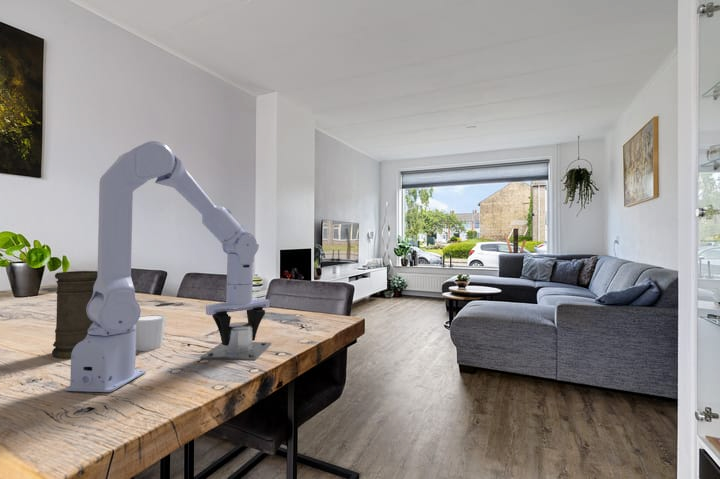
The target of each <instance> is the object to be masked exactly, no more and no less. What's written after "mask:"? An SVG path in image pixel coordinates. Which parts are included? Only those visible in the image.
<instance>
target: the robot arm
mask: <svg viewBox="0 0 720 479" xmlns="http://www.w3.org/2000/svg"><path fill="white" fill-rule="evenodd" d="M153 179H156V180H155V181H154V183H155V184H157V185H162V186H166V187H169V188H173V189H174V190H176V192H178V193H179V194H180V195H181V196H182V197H183V198H184V199H185V200H186V201H187V202H188V203H190V205H192V207H193V208H195V210H197V212H199V213H200V214H201V219H202V225H204V226H205V228H206V229H208V230H209V232H210V233H211V234H212V235H213V236H214V237H215V238H216V239H217V240H218V241H219V242H220V243H221V247H222V250H223V252H224V253H225V254H227V263H226V264H227V265H226V300H225V301H226V302H219V303H213V304H206V305H205V314H206V315H208V316H212V319H213V321H214V323H215V324H216V326H217V330H218V332H219V335H220V339H221V343H222V344H223V345H225V346H227V345H228V344H229V326H230V324H231V320H232V316H230V315H229V313H234V312H241V311H242V312H243V311H246V314H247V315H246V316H247V323H251V324H252V327H253V329H252V342H255V340H256V337H257V332H258V329H259V327H260V324H261V322H262V320H263V318H264V316H265V314H266V309H270V301H271V300H270V299H266V298H265V299H264V298H263V299H262V298H261V299H253V287H254V286H253V284H254V283H253V282H254V280H253V278H254V261H255V255H256V254H257V252H258V250H259V247H260V245H259V244H258V243H257V240H256V239H257V238H256V236H254V234H252V233H250V232H248V231H247V232H246V231H245V228H246V227H244V225H241V224H240V223H239V222H238V221H237V220H236V219H235V218H234V217H233V215H232V213H233V212H232V210H230V208H225V206H221V205H216V204H215V203H214V202H213V201H212V200H211V198H210V197H209V196H208V195H207V193H206V192H205V191H204V190H203V188H202V187H201V186H200V185H199V183H197V181H196V180H195V179H194V178H193V176H192V175H191V174H190V173H189V171H188V170H187V169H186V166H185V165H184V163H183V161H182V159H180V157H179V156H177V155H175V154H174V152H173V151H172V150H171V148H170V147H169V146H167V144H165V143H163V142H161V141H156V140H151V141H147V142H144V143H142V144H140V145H138V146H136V147H134V148H132V149H131V150H129V151H127V152H124V153H122V154H121V155H119V156H118V158H117V159H116V160H115V161H114V162H113V164H112V165H111V166H110V167H109V168H108V169H107V170H106V171H105V172H104V174H102V175H101V177H100V178H99V185H98V186H99V189H98V190H99V191H98V194H99V195H98V198H99V199H98V228H97V229H98V230H97V233H98V236H97V271H98V275H97V280H96V282H95V284H94V286H93V295H92V298H91V299H90V301H89V302H88V305H87V308H86V312H87V315H88V317H89V319H90V320H91V321H93V323H92V324H91V326H90V327H89V329H88V334H87V336H86V338H85V339H84V340H83V341H81V342H79V343H78V344H77V345H76V346H75V347H74V348H73V350H72V354H71V358H70V382H69V383H70V384H69V386H67V387H65V389H64V391H65V392H87V393H89V392H90V393H91V392H92V393H94V392H95V393H112V392H114V391H115V390H117V389H119V388H120V387H122V386H125V385H126V384H128V383H129V382H131V381H133V380H136V379H137V378H138V377H140V376H142V375H144V374H146V373H147V369H139V368H137V369H136V355H137V354H136V351H137V350H136V325H135V324H136V323H137V321H138V320H139V317H141V313H142V312H141V306H140V304H139V303H138V300H137V299H136V295H135V294H136V288H135V285H134V283H133V279H132V251H133V250H132V246H133V242H132V241H133V240H132V239H133V235H132V234H133V200H134V199H133V196H134V195H133V194H134V191H136V190H137V189H138V188H140V187H141V186H143V185H144V184H146V183H147V182H148V181H150V180H153Z"/></svg>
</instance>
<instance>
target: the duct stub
mask: <svg viewBox="0 0 720 479" xmlns="http://www.w3.org/2000/svg"><path fill="white" fill-rule="evenodd" d="M271 345H272V342H264V341H261V342H260V341H252V349H251V350H249V351H247V352H241V353H230V352H227V351H226V350H225V345H223V344H222V342H221V343H219V344H218V345H216V346H215V347H213V348H211V349H210V350H208V351H207V352H205V353H203V354H202V355H201V356H200V359H207V360H208V359H211V360H240V361H241V360H243V361H244V360H247V361H249V360H250V361H256V360H257V359H258V358H260V356H261V355H262V354H263V353H265V351H266V350H268V348H269V347H270V346H271Z"/></svg>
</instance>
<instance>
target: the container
mask: <svg viewBox="0 0 720 479" xmlns="http://www.w3.org/2000/svg"><path fill="white" fill-rule="evenodd" d="M97 275H98V270H78V271H77V270H76V271H60V272H56V273H55V274H54V278H55V279H56V284H57V289H56V290H57V291H56V322H55V323H56V324H55V330H54V333H55V339H54V342H53V344H52V346H53V347H54V348H53V349H52V350H51V355H52V356H53V357H54V358H58V359H71V354H72V350H73V348H74V347H75V346H76V345H77V344H78V343H79V342H81V341H83V340H84V339H85V338H86V336H87V334H88V329H89V327H90V326H91V324H92V323H93V321H91V320H90V319H89V317H88V315H87V312H86V308H87V305H88V302H89V301H90V299H91V298H92V295H93V286H94V284H95V282H96V280H97Z"/></svg>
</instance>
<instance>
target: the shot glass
mask: <svg viewBox="0 0 720 479" xmlns="http://www.w3.org/2000/svg"><path fill="white" fill-rule="evenodd" d="M165 324H166V316H165V315H157V314H156V315H155V314H152V315H143V316H140V317H139V320H138V321H137V323H136V324H135V325H136V351H139V352H142V351H143V352H145V351H146V352H147V351H152V350H157V349H159V348H162V347H163V342H164V341H163V340H164V332H165Z"/></svg>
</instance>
